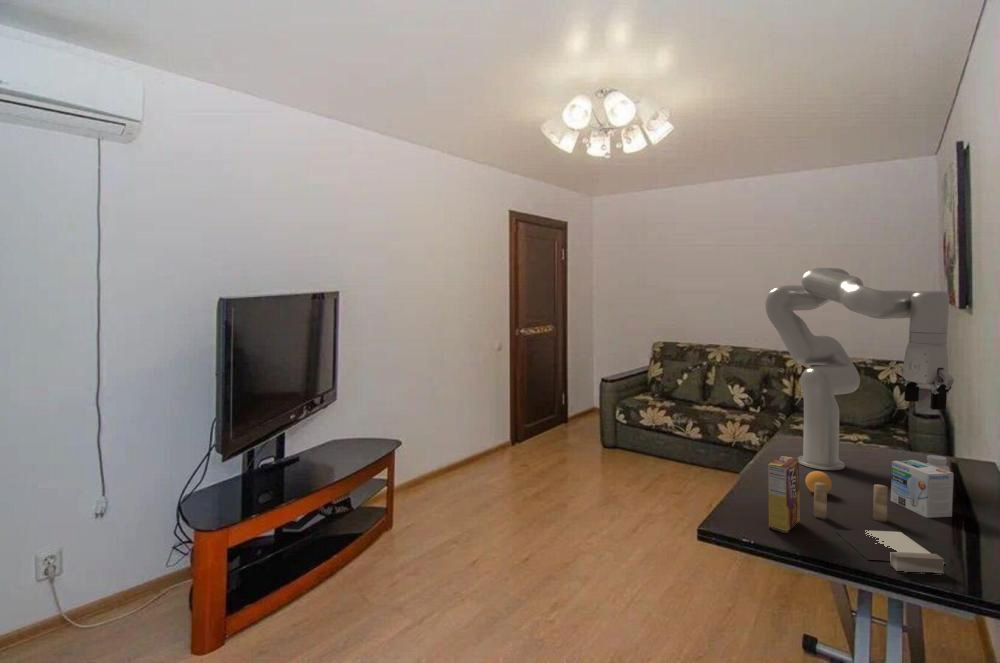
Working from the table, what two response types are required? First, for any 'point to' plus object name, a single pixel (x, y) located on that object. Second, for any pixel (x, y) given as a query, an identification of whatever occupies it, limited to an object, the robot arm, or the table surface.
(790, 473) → the candy box
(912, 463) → the light bulb box
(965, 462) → the table surface
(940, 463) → the supplement bottle
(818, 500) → the post
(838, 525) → the table surface
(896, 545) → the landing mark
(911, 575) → the table surface
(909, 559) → the stopper wall
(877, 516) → the post
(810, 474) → the ball
